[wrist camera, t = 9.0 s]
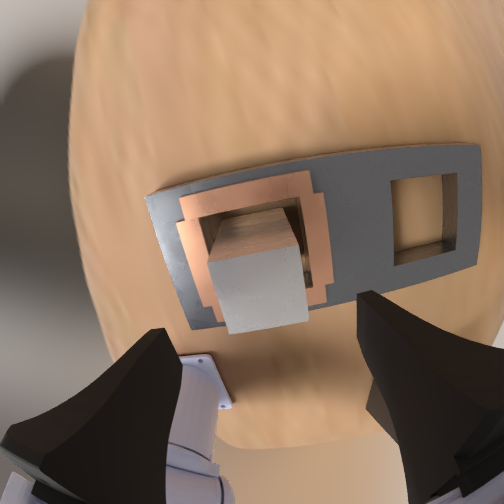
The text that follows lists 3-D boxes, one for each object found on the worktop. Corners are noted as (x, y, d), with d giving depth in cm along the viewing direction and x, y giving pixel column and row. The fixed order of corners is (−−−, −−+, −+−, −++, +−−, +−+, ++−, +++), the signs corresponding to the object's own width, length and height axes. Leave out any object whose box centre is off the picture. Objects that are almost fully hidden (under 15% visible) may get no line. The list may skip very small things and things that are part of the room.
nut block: (236, 272, 20) (229, 334, 13) (222, 219, 18) (206, 262, 12) (291, 261, 19) (309, 320, 13) (282, 207, 18) (298, 245, 12)
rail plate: (196, 315, 21) (190, 332, 19) (155, 191, 18) (142, 197, 15) (463, 255, 19) (478, 266, 17) (464, 142, 16) (482, 145, 13)
